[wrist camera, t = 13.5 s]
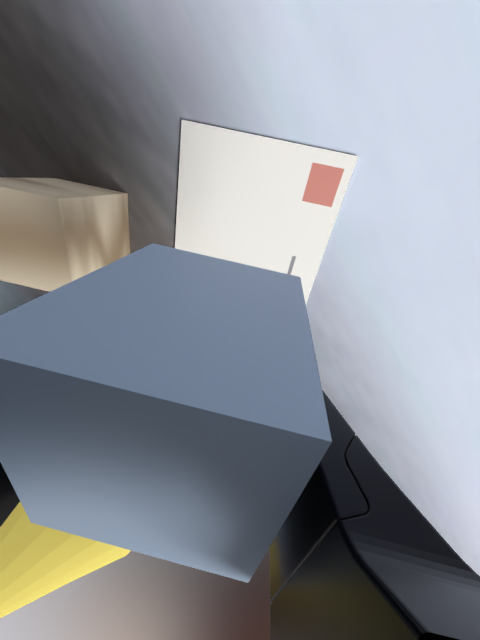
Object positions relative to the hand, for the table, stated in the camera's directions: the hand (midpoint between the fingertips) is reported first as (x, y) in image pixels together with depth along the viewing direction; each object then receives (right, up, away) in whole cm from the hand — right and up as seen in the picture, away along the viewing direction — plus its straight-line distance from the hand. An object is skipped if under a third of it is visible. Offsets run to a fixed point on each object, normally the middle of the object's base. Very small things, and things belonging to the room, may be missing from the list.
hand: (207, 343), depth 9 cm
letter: (+1, +5, +9) cm, 10 cm away
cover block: (-9, +8, +9) cm, 15 cm away
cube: (0, +1, +1) cm, 1 cm away
